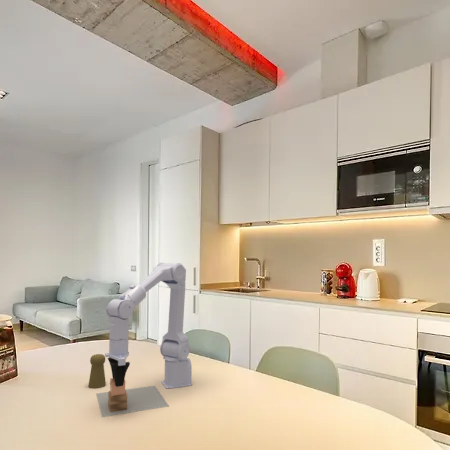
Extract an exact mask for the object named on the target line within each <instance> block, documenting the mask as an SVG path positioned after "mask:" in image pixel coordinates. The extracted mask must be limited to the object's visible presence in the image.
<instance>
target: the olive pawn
mask: <svg viewBox="0 0 450 450" xmlns="http://www.w3.org/2000/svg"><path fill="white" fill-rule="evenodd" d="M89 362H90V365H91V367H90V374H89V380H88V388H89V389H92V390H93V389H95V390H96V389H102V388H104V387H106V386H107V384H106V375H105V374H106V373H105V372H106V371H105V365H104V364H105V362H106V357H105V354H102V353H97V354H93V355H92V356H90V360H89Z"/></svg>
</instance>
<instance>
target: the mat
mask: <svg viewBox="0 0 450 450" xmlns="http://www.w3.org/2000/svg"><path fill="white" fill-rule="evenodd" d="M125 391H126V393H127V410H121V411H114V412H110V411H109V407H108V391H106V392H99V393H95V395H96V398H97V403H98V406H99V411H100V415H101V417H102V418H103V417H105V418H106V417H110V416H111V417H112V416H118V415H124V414H129V413H130V414H131V413H136V412H142V411H148V410H156V409H161V408H167V407H170V405H169V404H168V402H167V401H166V399H165V397H164V396H163V395H162V394H161V392H160V391H159V390H158V388H157V387H156V385H149V386H148V385H147V386H142V387H133V388H125Z"/></svg>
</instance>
